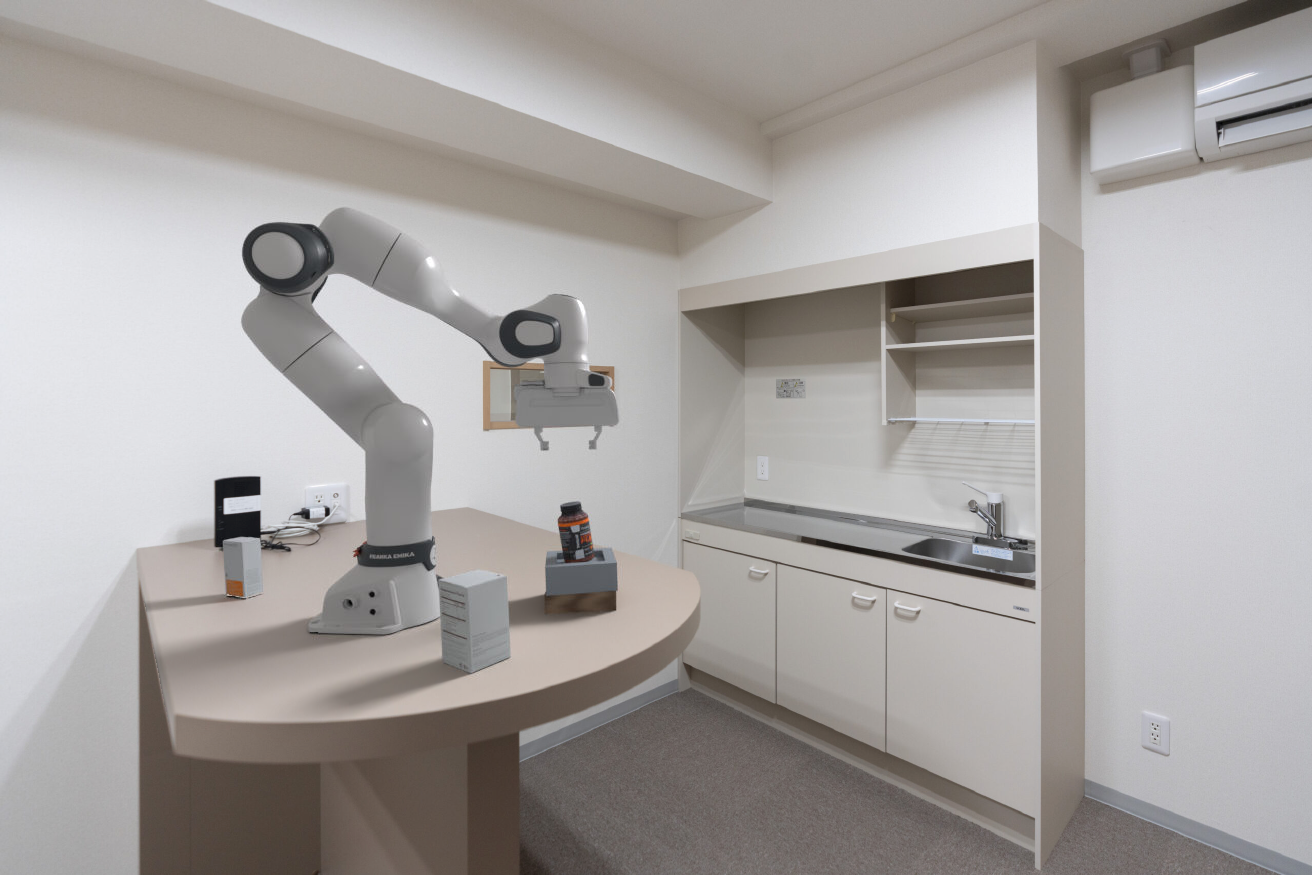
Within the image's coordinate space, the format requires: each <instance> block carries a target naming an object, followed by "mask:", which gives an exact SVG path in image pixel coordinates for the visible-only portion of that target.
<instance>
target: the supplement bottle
mask: <svg viewBox="0 0 1312 875" xmlns="http://www.w3.org/2000/svg"><path fill="white" fill-rule="evenodd" d="M559 507H560V512H561V514H560V516H558V517H557V526H558V531H559V532H558V533H559V540H560V545H561V551H563V557H564V562H565V563H580V562H588V561H590V560H592V559H593V558H594V544H593V538H592V531H591V525H590V520H589V515H588V513H587V512H585V511H584V510H583V509H582V508H583V507H582V502H581V501H570V502H569V501H568V502H565V503H561V504H560V506H559Z"/></svg>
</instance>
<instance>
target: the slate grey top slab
mask: <svg viewBox="0 0 1312 875" xmlns="http://www.w3.org/2000/svg"><path fill="white" fill-rule="evenodd" d="M593 548H594V547H593ZM545 556H546V558H545V565H544V571H545V573H544V574H545V592H546V596H550V595H564V594H578V593H592V592H606V591H616V592H618V590H619V588H618V586H619V585H618V562H617V559H616V557H615V554H614V551H613V548H612V547H599V548H598V547H597V548H596V547H595V548H594V558H593V559H592V560H590V561H588V562H580V563H565V562H564V557H563V551H562V550H547V551H546V555H545Z"/></svg>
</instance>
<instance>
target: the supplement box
mask: <svg viewBox="0 0 1312 875" xmlns="http://www.w3.org/2000/svg"><path fill="white" fill-rule="evenodd" d="M437 583H438V588H439V601H440V617H439V619H440V635H441V637H440V638H441V640H440V641H441V654H442V655H441V656H442V657H441V658H442V660H441V661H442V662H443V663H445V664H446V665H449V666H452V667H454V668H456V669H458V670H461V671H463V672H465V673H468V674H474V673H475V672H477V671H480V670H483V669H484V668H486V667H490V666H492V665H495V664H497V663H499V662H502V661H504V660H507V659H509V658H511V655H512V654H511V653H512V652H511V637H510V636H511V633H510V615H509V610H510V609H509V592H508V591H509V590H508V576H507V575H505V574H501V573H498V572H497V573H496V572H493V571H489V570H484V569H479V568H477V569H474V570H471V571H467V572H463V573H459V574H456V575H452V576H447V577H444V578H439V579H438V580H437Z"/></svg>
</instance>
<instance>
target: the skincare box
mask: <svg viewBox="0 0 1312 875" xmlns="http://www.w3.org/2000/svg"><path fill="white" fill-rule="evenodd" d="M261 546H262V545H261V538H260V537H252V536H248V537H246V536H238V537H234V538H228V539H224V540H223V541H222V549H223V550H222V551H223V553H222V554H223V565H224V566H223V569H224V583H225V584H224V585H225V588H224V589H225V595H226V594H229V595H232V596H239V597H248V596H251V595H254V594H257V593H261V592H263V593H264V583H263V582H264V580H263V579H264V578H263V566H262V547H261Z"/></svg>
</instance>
